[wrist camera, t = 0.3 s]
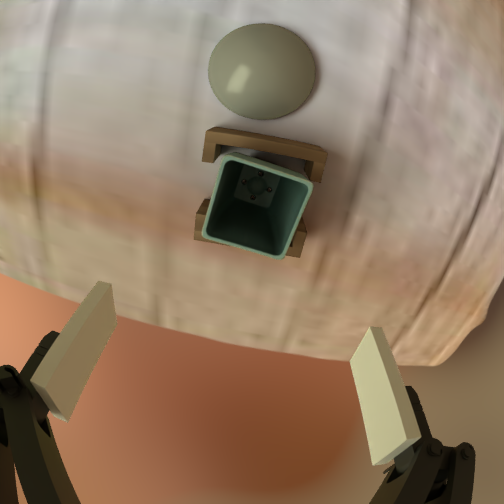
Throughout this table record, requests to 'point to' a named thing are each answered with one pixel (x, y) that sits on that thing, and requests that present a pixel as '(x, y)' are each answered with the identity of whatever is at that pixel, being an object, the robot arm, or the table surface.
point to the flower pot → (256, 205)
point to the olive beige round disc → (261, 71)
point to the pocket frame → (268, 144)
